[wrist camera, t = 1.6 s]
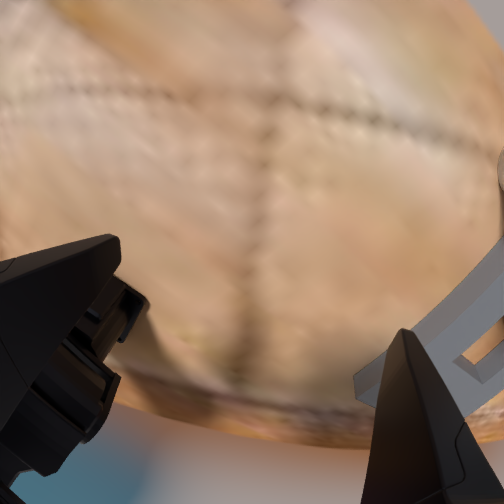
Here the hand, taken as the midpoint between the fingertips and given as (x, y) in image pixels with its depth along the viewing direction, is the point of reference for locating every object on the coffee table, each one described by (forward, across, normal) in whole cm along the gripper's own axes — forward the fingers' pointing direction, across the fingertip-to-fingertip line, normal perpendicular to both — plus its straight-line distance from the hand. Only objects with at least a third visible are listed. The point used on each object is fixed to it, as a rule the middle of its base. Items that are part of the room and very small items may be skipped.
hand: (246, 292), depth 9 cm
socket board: (+14, -17, +10) cm, 24 cm away
